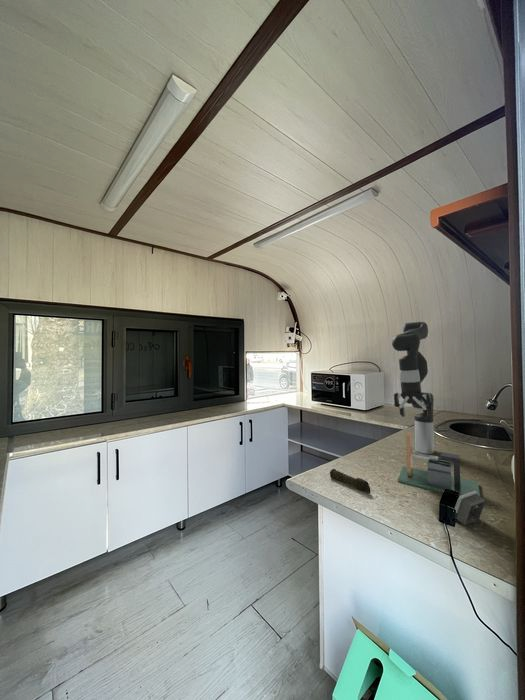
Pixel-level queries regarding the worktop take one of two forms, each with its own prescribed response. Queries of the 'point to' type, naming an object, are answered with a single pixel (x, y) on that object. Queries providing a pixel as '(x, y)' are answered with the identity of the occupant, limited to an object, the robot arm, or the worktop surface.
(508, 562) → the worktop surface
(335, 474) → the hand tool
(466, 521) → the electrical switch
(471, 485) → the base
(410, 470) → the upright wooden plank
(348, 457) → the worktop surface
